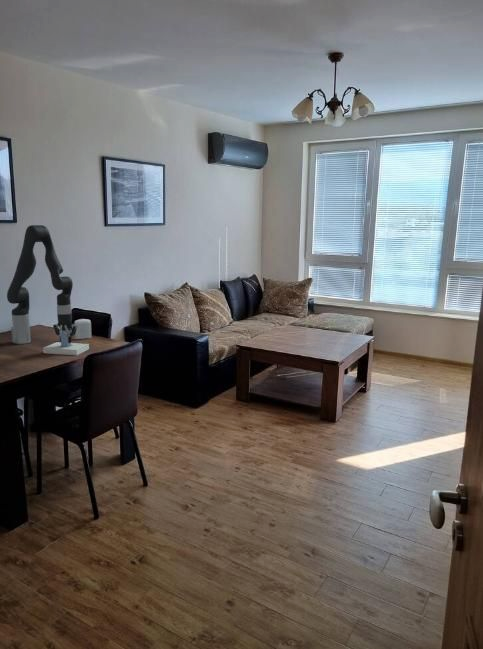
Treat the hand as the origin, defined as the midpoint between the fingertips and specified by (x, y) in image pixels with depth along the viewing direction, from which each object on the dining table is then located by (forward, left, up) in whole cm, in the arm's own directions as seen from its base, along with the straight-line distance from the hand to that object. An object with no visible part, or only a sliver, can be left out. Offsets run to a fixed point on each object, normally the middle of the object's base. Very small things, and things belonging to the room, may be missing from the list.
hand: (66, 342), depth 269 cm
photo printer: (-6, +31, -5) cm, 32 cm away
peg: (0, 0, -4) cm, 4 cm away
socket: (0, 0, -5) cm, 5 cm away
